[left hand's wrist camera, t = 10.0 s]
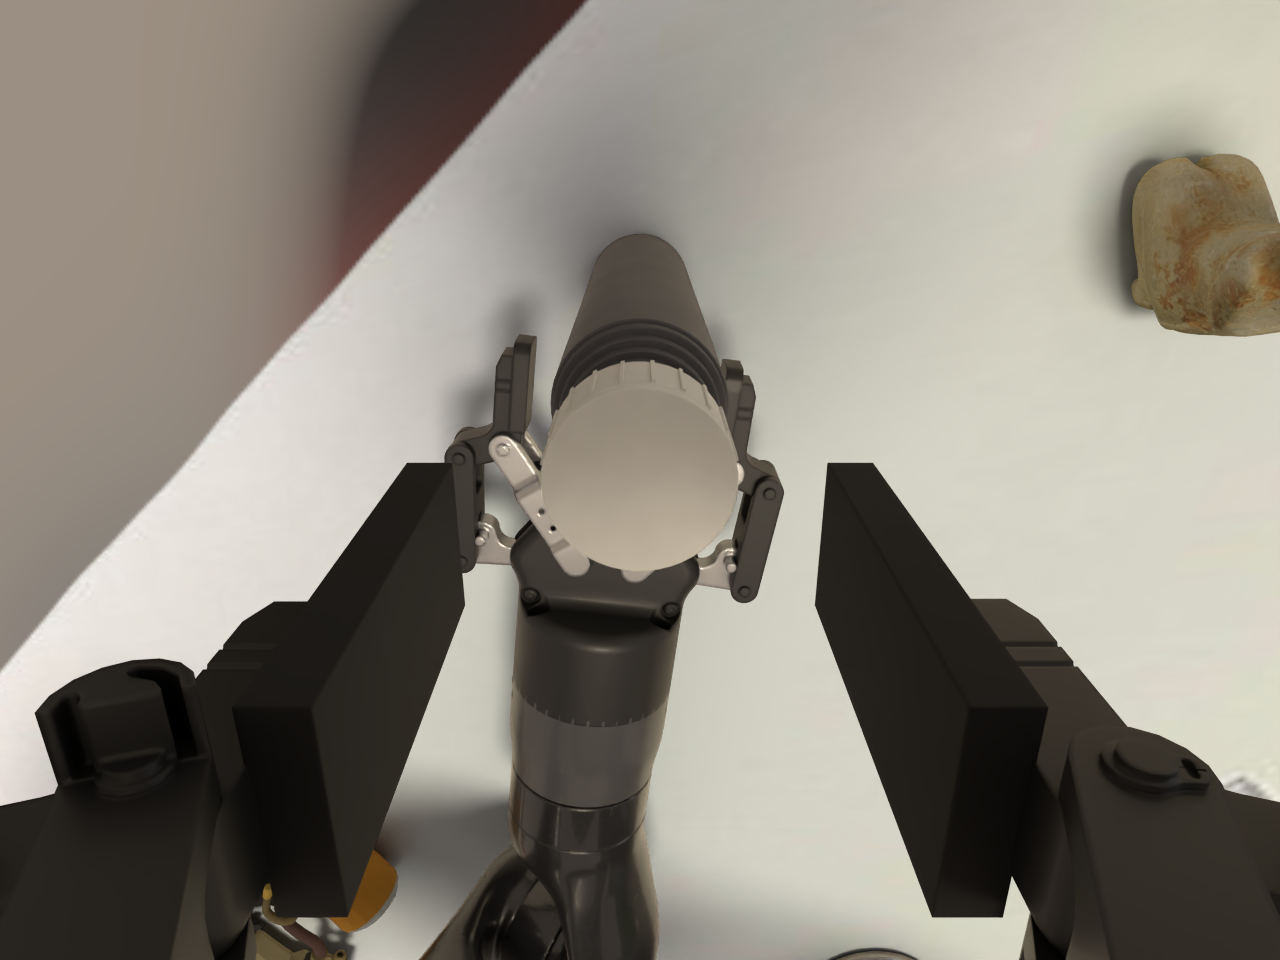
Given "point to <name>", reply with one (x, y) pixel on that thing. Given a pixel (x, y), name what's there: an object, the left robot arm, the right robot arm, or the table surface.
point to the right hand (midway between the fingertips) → (629, 351)
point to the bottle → (639, 319)
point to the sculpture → (1207, 247)
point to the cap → (639, 467)
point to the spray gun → (364, 912)
